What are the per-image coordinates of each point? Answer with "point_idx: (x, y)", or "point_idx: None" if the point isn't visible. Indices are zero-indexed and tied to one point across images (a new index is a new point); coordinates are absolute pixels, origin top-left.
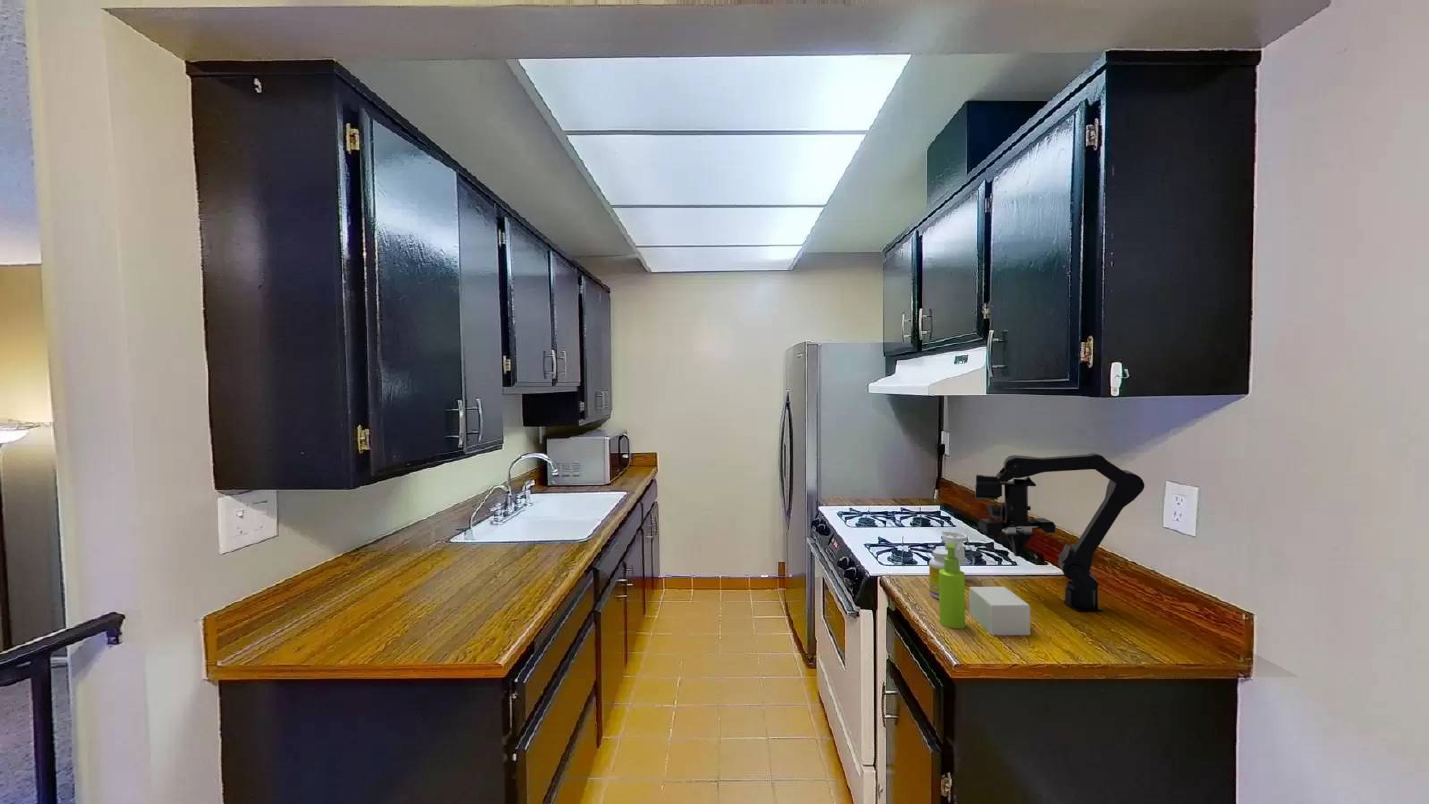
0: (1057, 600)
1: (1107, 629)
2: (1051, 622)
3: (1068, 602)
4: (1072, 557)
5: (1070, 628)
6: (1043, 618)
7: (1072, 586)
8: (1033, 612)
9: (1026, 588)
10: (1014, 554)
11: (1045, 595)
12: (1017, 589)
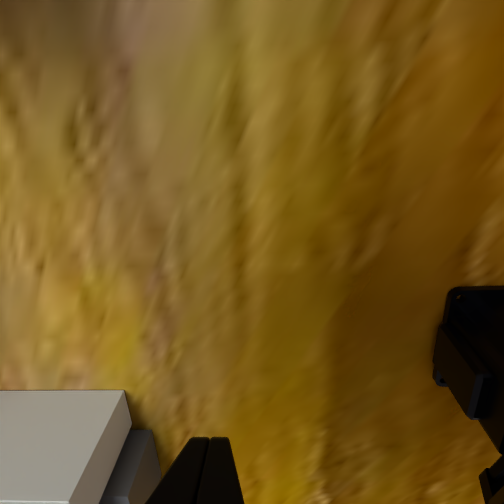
0: (439, 265)
1: (420, 486)
2: (265, 446)
3: (438, 353)
4: None
5: (302, 479)
6: (254, 422)
7: (496, 437)
8: (243, 380)
9: (385, 85)
10: (185, 457)
11: (425, 200)
12: (316, 106)
